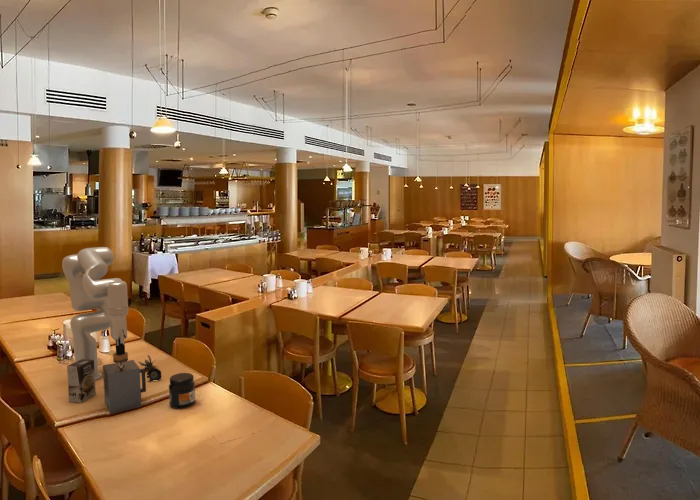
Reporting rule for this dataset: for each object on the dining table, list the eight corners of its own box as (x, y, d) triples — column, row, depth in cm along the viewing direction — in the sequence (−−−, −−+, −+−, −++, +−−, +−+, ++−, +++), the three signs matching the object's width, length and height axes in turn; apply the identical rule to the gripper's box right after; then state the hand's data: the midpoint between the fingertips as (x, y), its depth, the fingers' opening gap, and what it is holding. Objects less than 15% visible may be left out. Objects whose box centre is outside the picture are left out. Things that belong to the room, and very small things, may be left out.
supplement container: (198, 405, 209) (197, 378, 208) (172, 411, 204) (171, 383, 202) (192, 396, 218) (191, 370, 217) (167, 401, 213) (166, 375, 211)
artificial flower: (144, 386, 233) (137, 367, 231) (144, 375, 253) (137, 357, 252) (163, 378, 236) (156, 359, 235) (161, 368, 257) (155, 350, 255)
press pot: (104, 403, 211) (102, 365, 209) (142, 395, 220) (140, 358, 217) (110, 414, 201) (107, 374, 199) (149, 404, 210) (147, 366, 208)
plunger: (107, 394, 210) (105, 353, 208) (132, 389, 216) (130, 348, 213) (112, 403, 202) (109, 359, 200) (137, 397, 208) (135, 355, 206)
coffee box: (81, 403, 211) (79, 366, 209) (68, 401, 212) (66, 365, 210) (96, 394, 220) (94, 359, 218) (83, 393, 221) (81, 358, 219)
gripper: (105, 308, 208) (107, 351, 210) (111, 316, 196) (114, 361, 198) (124, 306, 213) (126, 347, 215) (132, 313, 200) (134, 357, 203)
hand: (120, 354), depth 207 cm, fingers closed
